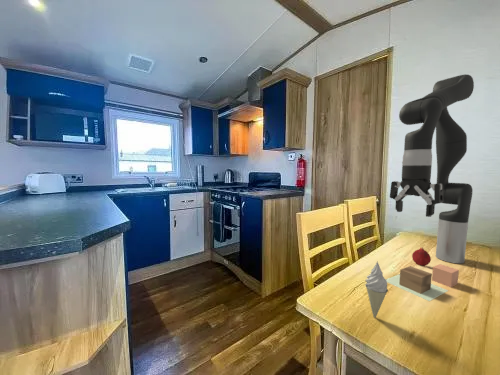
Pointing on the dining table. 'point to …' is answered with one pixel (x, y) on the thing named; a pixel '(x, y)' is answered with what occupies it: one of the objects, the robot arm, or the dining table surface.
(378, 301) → the ice cream cone
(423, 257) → the red oval piece
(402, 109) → the robot arm
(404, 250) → the dining table surface
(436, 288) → the sage board
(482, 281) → the dining table surface
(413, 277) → the walnut block
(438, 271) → the terracotta block
